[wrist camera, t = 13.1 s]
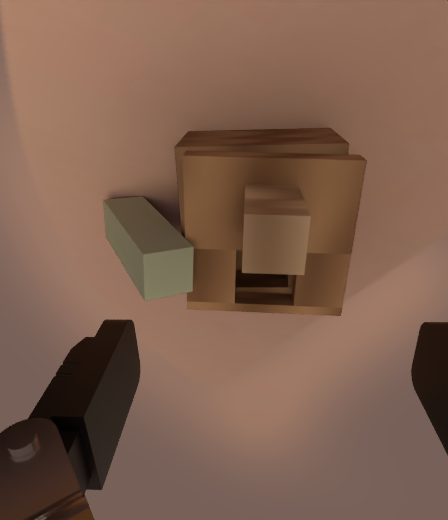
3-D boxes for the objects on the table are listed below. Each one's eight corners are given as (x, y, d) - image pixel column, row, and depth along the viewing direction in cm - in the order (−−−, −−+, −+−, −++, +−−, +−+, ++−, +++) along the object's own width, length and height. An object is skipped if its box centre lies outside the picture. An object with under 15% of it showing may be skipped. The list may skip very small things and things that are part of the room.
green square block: (193, 246, 24) (142, 196, 31) (143, 254, 22) (103, 199, 30) (192, 291, 25) (143, 232, 33) (144, 301, 24) (106, 237, 31)
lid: (360, 154, 23) (396, 185, 17) (336, 303, 28) (359, 367, 22) (186, 150, 24) (165, 179, 18) (190, 297, 28) (174, 358, 22)
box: (330, 127, 28) (349, 143, 23) (320, 256, 33) (334, 295, 27) (188, 131, 29) (174, 147, 24) (197, 257, 33) (186, 295, 28)
